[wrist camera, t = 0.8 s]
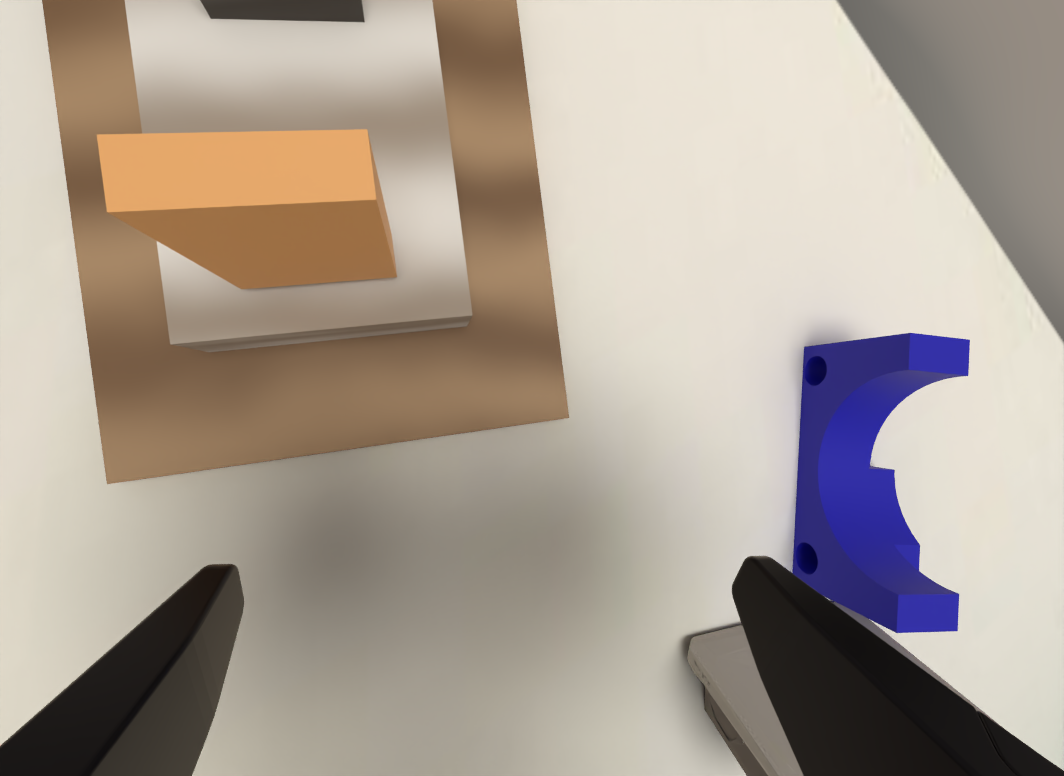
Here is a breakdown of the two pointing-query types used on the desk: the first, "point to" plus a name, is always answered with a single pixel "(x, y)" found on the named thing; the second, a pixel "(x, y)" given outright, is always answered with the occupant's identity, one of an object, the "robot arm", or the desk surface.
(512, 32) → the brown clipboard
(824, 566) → the cable clip
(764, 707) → the electrical switch
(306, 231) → the orange wedge plank
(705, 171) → the desk surface
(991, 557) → the desk surface
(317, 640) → the desk surface
